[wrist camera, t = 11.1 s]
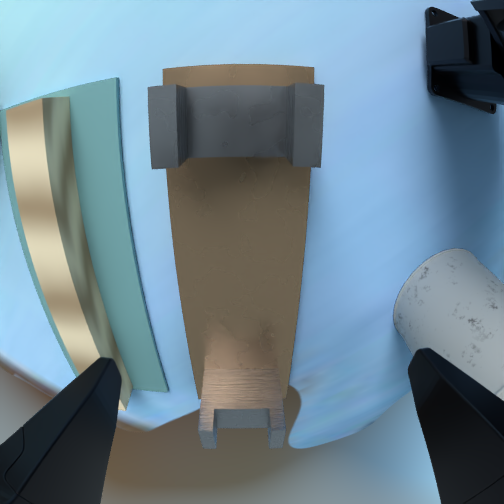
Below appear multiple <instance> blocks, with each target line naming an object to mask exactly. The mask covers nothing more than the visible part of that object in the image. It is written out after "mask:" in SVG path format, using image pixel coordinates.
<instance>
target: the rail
mask: <svg viewBox="0 0 504 504" xmlns="http://www.w3.org/2000/svg"><path fill="white" fill-rule="evenodd" d="M6 120H7V134H8V145H9V154H10V162H11V169H12V176H13V182H14V188H15V193H16V198H17V203H18V208H19V213H20V217H21V221H22V225H23V229H24V233H25V237H26V241H27V245H28V248H29V252H30V255H31V258H32V262H33V265H34V268H35V271H36V274H37V277H38V280H39V283H40V286H41V289H42V291H43V294H44V297H45V300H46V302H47V305H48V307H49V310H50V312H51V315H52V317H53V320H54V322H55V324H56V327H57V329H58V331H59V334H60V336H61V338H62V340H63V342H64V345H65V347H66V349H67V351H68V353H69V355H70V357H71V359H72V361H73V363H74V365H75V367H76V369H77V371H78V373H79V375H80V374H81V373H82V372H83V371H84V370H85V369H87V368H88V367H89V366H90V365H91V364H92V363H93V362H95V361H96V360H97V359H98V358H100V357H109V358H113V359H114V360H115V362H116V365H117V367H118V369H119V372H120V374H121V377H122V385H121V392H120V400H119V407H118V410H123V411H126V409H127V405H128V402H129V398H130V395H131V392H132V388H133V385H132V383H131V381H130V378H129V376H128V373H127V371H126V368H125V366H124V363H123V360H122V358H121V355H120V352H119V350H118V347H117V344H116V341H115V338H114V335H113V333H112V330H111V327H110V324H109V320H108V317H107V314H106V311H105V308H104V304H103V301H102V298H101V294H100V291H99V287H98V284H97V280H96V276H95V272H94V268H93V264H92V260H91V256H90V252H89V247H88V243H87V238H86V234H85V229H84V224H83V218H82V213H81V207H80V201H79V195H78V189H77V182H76V174H75V166H74V158H73V148H72V137H71V122H70V100H69V96H68V97H50V98H41V99H38V100H34V101H31V102H28V103H25V104H22V105H19V106H17V107H14V108H11V109H8V110H6Z"/></svg>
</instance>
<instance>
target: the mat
mask: <svg viewBox="0 0 504 504" xmlns="http://www.w3.org/2000/svg"><path fill="white" fill-rule="evenodd" d="M68 96H69V100H70V122H71V137H72V148H73V158H74V166H75V174H76V182H77V189H78V195H79V201H80V207H81V213H82V218H83V224H84V229H85V234H86V238H87V243H88V247H89V252H90V256H91V260H92V264H93V268H94V272H95V276H96V280H97V284H98V287H99V291H100V294H101V298H102V301H103V304H104V308H105V311H106V314H107V317H108V320H109V324H110V327H111V330H112V333H113V335H114V338H115V341H116V344H117V347H118V350H119V352H120V355H121V358H122V360H123V363H124V366H125V368H126V371H127V373H128V376H129V378H130V381H131V383H132V385H133V388H132V389H136V390H146V391H156V392H168V390H169V389H168V385H167V382H166V379H165V376H164V372H163V369H162V365H161V362H160V358H159V355H158V351H157V347H156V344H155V340H154V336H153V332H152V328H151V324H150V320H149V316H148V312H147V307H146V303H145V299H144V294H143V289H142V285H141V280H140V275H139V270H138V265H137V259H136V254H135V248H134V242H133V236H132V230H131V223H130V217H129V210H128V202H127V194H126V186H125V177H124V167H123V157H122V144H121V130H120V110H119V78H111V79H106V80H101V81H96V82H92V83H87V84H83V85H79V86H75V87H71V88H68V89H64V90H60V91H57V92H53V93H50V94H47V95H43V96H40V97H37V98H34V99H31V100H28V101H25V102H22V103H20V104H17V105H14V106H12V107H9V108H6V109H4V110H1V111H0V133H1V144H2V153H3V160H4V167H5V174H6V180H7V186H8V191H9V196H10V201H11V206H12V210H13V215H14V219H15V223H16V227H17V231H18V235H19V238H20V242H21V245H22V249H23V252H24V256H25V259H26V262H27V265H28V268H29V271H30V274H31V277H32V280H33V283H34V285H35V288H36V291H37V294H38V296H39V299H40V301H41V304H42V306H43V309H44V311H45V314H46V316H47V318H48V321H49V323H50V325H51V328H52V330H53V332H54V334H55V336H56V339H57V341H58V343H59V345H60V347H61V349H62V351H63V353H64V355H65V357H66V359H67V361H68V363H69V365H70V367H71V369H72V370H73V372H74V374H75V376H76V377H78V376H79V373H78V371H77V369H76V367H75V365H74V363H73V361H72V359H71V357H70V355H69V353H68V351H67V349H66V347H65V345H64V342H63V340H62V338H61V336H60V334H59V331H58V329H57V327H56V324H55V322H54V320H53V317H52V315H51V312H50V310H49V307H48V305H47V302H46V300H45V297H44V294H43V291H42V289H41V286H40V283H39V280H38V277H37V274H36V271H35V268H34V265H33V262H32V258H31V255H30V252H29V248H28V245H27V241H26V237H25V233H24V229H23V225H22V221H21V217H20V213H19V208H18V203H17V198H16V193H15V188H14V182H13V176H12V169H11V162H10V154H9V145H8V134H7V120H6V110H8V109H11V108H14V107H17V106H19V105H22V104H25V103H28V102H31V101H34V100H38V99H41V98H50V97H68Z"/></svg>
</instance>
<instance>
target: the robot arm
mask: <svg viewBox="0 0 504 504" xmlns="http://www.w3.org/2000/svg"><path fill="white" fill-rule="evenodd" d="M471 4H472V5H473V7H474V8H475V10H476V11H478V12H479V14H480V15H477V16H472V17H468V18H464V17H463V18H458V17H456V16H454V15H452V14H449V13H447V12H445V11H442V10H440V9H437V8H435V7H429V8H427V9H426V12H425V13H426V26H427V28H426V43H427V62H428V90H429V92H430V93H431V94H432V95H434V96H438V97H441V98H445V99H448V100H451V101H455V102H458V103H461V104H464V105H467V106H470V107H473V108H476V109H478V110H481V111H484V112H487V113H490V114H494V113H495V112H496V104H501V105H504V0H473V1H471ZM432 12H433V13H434V15H435V16H433V14H432ZM434 85H435V86H436V88H437V90H436V91H435V90H434ZM490 106H491V109H490ZM408 375H409V379H410V384H411V388H412V393H413V397H414V402H415V407H416V411H417V415H418V418H419V422H420V424H421V428H422V431H423V435H424V438H425V441H426V445H427V448H428V452H429V456H430V459H431V463H432V467H433V471H434V475H435V478H436V483H437V487H438V491H439V496H440V500H441V504H504V401H503V400H502V399H501V398H499V397H498V396H496V395H495V394H494V393H492V392H491V391H490V390H488V389H487V388H486V387H484V386H483V385H481V384H480V383H479V382H477V381H476V380H474V379H473V378H472V377H470V376H469V375H468V374H466V373H465V372H463V371H462V370H461V369H459V368H458V367H456V366H455V365H454V364H452V363H451V362H449V361H448V360H447V359H445V358H444V357H442V356H441V355H439V354H438V353H437V352H435V351H434V350H432V349H431V348H429V347H426V348H420V349H418V350H416V352H415V354H414V356H413V358H412V360H411V362H410V365H409V367H408ZM121 385H122V377H121V374H120V372H119V369H118V367H117V365H116V362H115V360H114V359H113V358H109V357H100V358H98V359H97V360H96V361H95V362H93V363H92V364H91V365H90V366H89V367H88V368H87V369H85V370H84V371H83V372H82V373H81V374H80V375H79V376H78V377H76V378H75V379H74V380H73V381H72V382H71V383H70V384H68V385H67V386H66V387H65V388H64V389H63V390H62V391H61V392H59V393H58V394H57V395H56V396H55V397H54V398H53V399H52V400H50V401H49V402H48V403H47V404H46V405H45V406H44V407H43V408H42V409H41V410H39V411H38V412H37V413H36V414H35V415H34V416H33V417H32V418H31V419H29V421H27V422H26V423H25V424H24V425H23V427H20V428H19V429H18V430H17V431H16V432H15V433H14V434H13V435H12V436H10V437H9V438H8V439H7V440H6V441H5V442H4V443H2V444H1V445H0V504H100V503H101V497H102V491H103V486H104V480H105V475H106V470H107V465H108V460H109V456H110V451H111V446H112V442H113V438H114V433H115V429H116V423H117V415H118V407H119V400H120V392H121Z"/></svg>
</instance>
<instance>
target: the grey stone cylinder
mask: <svg viewBox="0 0 504 504" xmlns="http://www.w3.org/2000/svg"><path fill="white" fill-rule="evenodd" d="M393 318H394V325H395V327H396V329H397V331H398V332H399V333H400V334H401V336H402V337H403V339H404V341H405V343H406V344H407V346H408V348H409V350H410V352H411V354H412V355H413V356H414V354H415V352H416V350H418V349H420V348H426V347H429V348H431V349H432V350H434V351H435V352H437V353H438V354H439V355H441V356H442V357H444V358H445V359H447V360H448V361H449V362H451V363H452V364H454V365H455V366H456V367H458V368H459V369H461V370H462V371H463V372H465V373H466V374H468V375H469V376H470V377H472V378H473V379H474V380H476V381H477V382H479V383H480V384H481V385H483V386H484V387H486V388H487V389H488V390H490V391H491V392H492V393H494V394H495V395H496V396H498V397H499V398H501V399H502V400H503V401H504V284H503V283H502V282H501V281H500V280H499V279H498V278H497V277H496V276H495V275H494V274H493V273H492V272H491V271H489V270H488V269H487V268H486V267H485V266H484V265H483V264H482V263H481V262H479V261H478V260H477V258H476V257H475V256H474V255H473V254H472V253H471V252H469V251H467V250H464V249H457V248H453V249H448V250H444V251H442V252H439V253H437V254H435V255H433V256H432V257H430V258H429V259H427V260H426V261H425V262H423V263H422V264H421V265H420V266H419V267H418V268H417V269H416V270H415V271H414V272H413V273H412V274H411V275H410V277H409V278H408V279H407V281H406V282H405V283H404V285H403V287H402V289H401V290H400V292H399V294H398V297H397V300H396V303H395V305H394V314H393Z"/></svg>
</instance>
